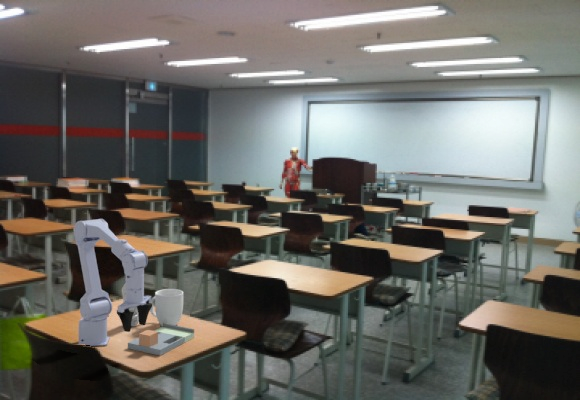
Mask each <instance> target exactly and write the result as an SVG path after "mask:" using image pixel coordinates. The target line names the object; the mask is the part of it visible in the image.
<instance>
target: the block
mask: <svg viewBox="0 0 580 400" xmlns="http://www.w3.org/2000/svg"><path fill="white" fill-rule="evenodd" d="M138 335H139V336H138V338H139V345H142V346H147V347H151V346H153V345H155V344H157V343H158V332H156V331H154V330H152V329H151V330H150V329H146V330H143V331H142V332H140V333H138Z"/></svg>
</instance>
